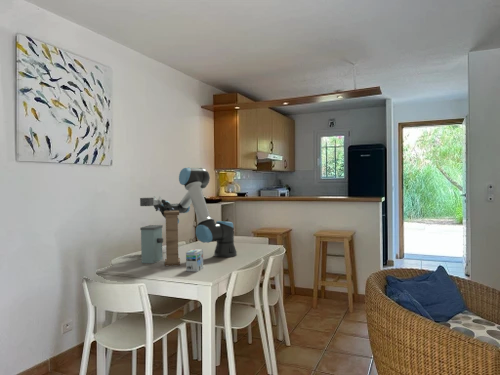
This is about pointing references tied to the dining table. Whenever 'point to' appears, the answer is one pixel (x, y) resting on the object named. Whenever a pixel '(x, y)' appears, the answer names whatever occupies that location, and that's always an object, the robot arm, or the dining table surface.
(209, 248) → the dining table surface
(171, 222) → the tall stand
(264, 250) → the dining table surface
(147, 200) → the crank handle
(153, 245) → the blue lidded container
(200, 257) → the light bulb box
